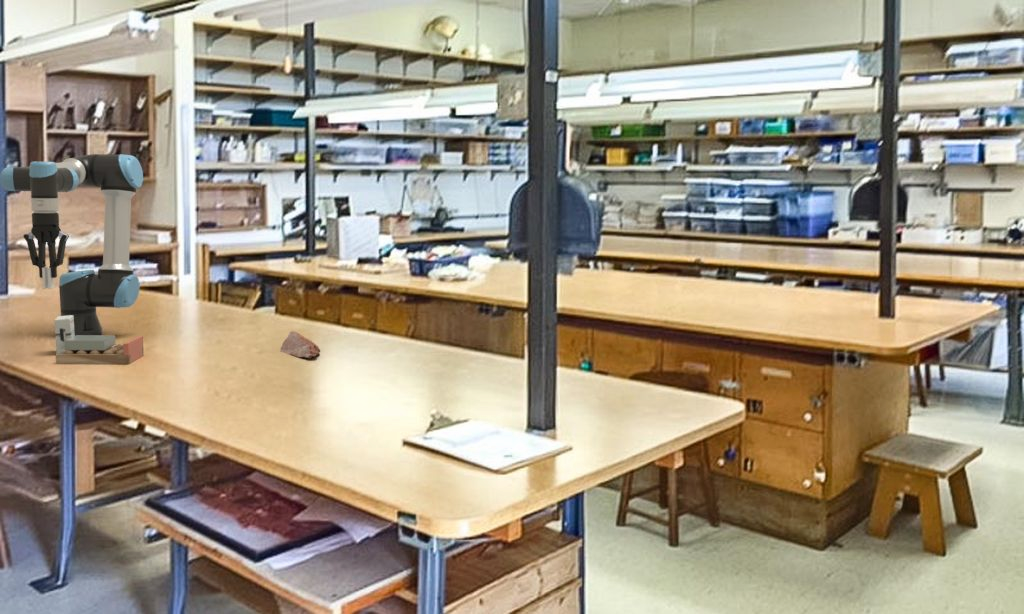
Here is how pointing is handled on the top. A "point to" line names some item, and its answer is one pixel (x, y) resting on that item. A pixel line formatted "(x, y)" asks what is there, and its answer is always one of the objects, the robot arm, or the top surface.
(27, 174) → the robot arm
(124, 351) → the stop rail
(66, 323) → the ink box
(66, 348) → the stone slab
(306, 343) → the rock
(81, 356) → the roller bed
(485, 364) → the top surface
